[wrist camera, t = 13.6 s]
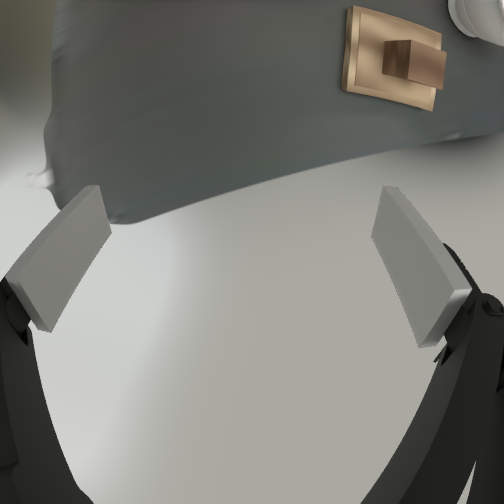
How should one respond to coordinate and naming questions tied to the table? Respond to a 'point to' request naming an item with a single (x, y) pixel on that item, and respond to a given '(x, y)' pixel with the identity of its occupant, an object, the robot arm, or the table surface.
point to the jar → (479, 18)
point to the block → (414, 62)
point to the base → (371, 57)
